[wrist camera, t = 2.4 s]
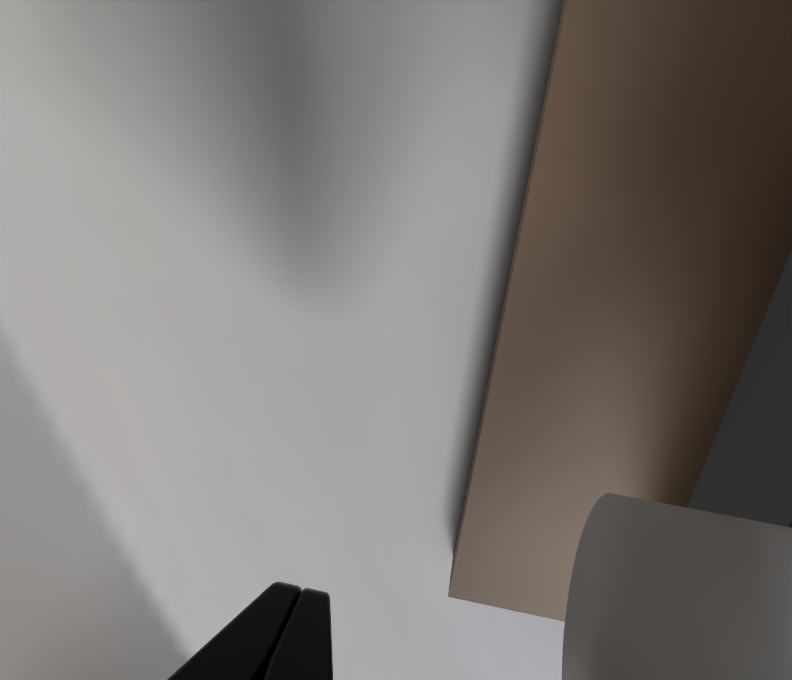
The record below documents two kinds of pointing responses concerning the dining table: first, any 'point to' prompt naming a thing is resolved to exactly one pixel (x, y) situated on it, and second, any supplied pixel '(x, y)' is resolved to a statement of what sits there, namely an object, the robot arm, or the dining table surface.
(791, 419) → the grey flat block
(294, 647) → the robot arm
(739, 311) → the pipe fixture
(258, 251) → the dining table surface
